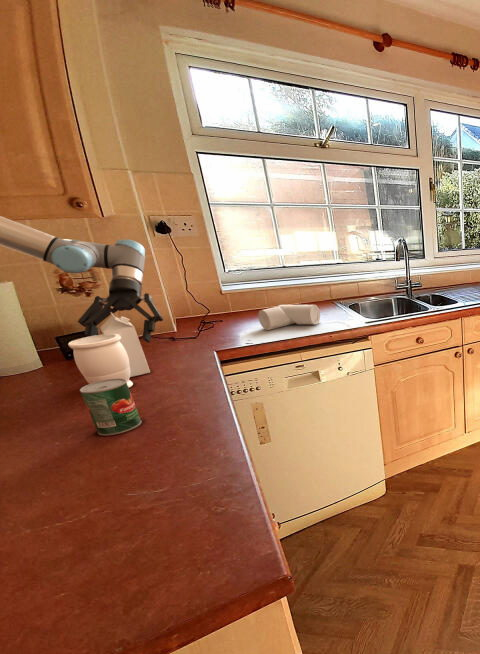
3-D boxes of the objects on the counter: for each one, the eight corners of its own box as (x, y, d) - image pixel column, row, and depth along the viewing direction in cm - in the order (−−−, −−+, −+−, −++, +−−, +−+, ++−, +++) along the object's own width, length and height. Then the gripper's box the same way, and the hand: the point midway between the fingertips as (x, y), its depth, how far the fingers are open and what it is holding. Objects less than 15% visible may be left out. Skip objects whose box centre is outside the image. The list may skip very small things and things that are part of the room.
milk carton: (121, 379, 127) (97, 318, 120) (117, 373, 131) (94, 314, 124) (150, 373, 132) (130, 313, 125) (146, 367, 136) (126, 310, 129)
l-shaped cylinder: (301, 314, 193) (257, 324, 178) (299, 292, 188) (254, 301, 173) (326, 328, 186) (283, 340, 170) (325, 305, 181) (281, 316, 166)
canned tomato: (100, 425, 101) (82, 383, 97) (142, 416, 105) (127, 375, 101) (95, 439, 95) (76, 395, 91) (141, 428, 99) (124, 386, 95)
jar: (123, 379, 127) (105, 331, 121) (146, 384, 124) (128, 335, 118) (80, 394, 118) (58, 342, 112) (103, 399, 114) (82, 346, 109)
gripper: (178, 288, 141) (174, 344, 133) (85, 293, 133) (75, 353, 126) (167, 274, 134) (162, 332, 127) (68, 279, 127) (57, 341, 119)
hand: (119, 343), depth 126 cm, fingers open, 13 cm apart
